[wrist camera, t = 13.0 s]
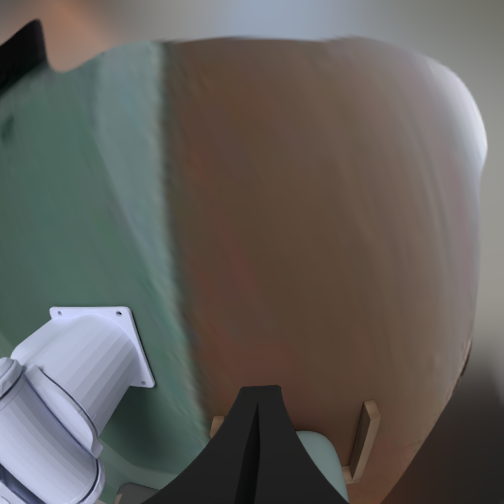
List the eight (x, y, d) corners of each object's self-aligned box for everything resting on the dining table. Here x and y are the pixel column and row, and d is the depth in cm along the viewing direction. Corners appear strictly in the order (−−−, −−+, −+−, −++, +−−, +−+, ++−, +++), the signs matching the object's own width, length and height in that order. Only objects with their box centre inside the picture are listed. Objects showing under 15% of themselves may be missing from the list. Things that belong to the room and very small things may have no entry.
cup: (340, 416, 22) (361, 500, 12) (329, 456, 24) (340, 527, 14) (258, 421, 22) (254, 511, 13) (260, 461, 24) (256, 534, 15)
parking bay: (235, 478, 26) (234, 493, 23) (213, 415, 22) (209, 435, 20) (355, 467, 24) (359, 481, 22) (373, 399, 21) (381, 417, 19)
